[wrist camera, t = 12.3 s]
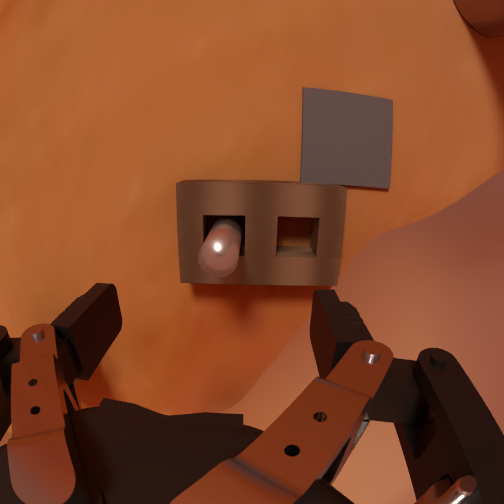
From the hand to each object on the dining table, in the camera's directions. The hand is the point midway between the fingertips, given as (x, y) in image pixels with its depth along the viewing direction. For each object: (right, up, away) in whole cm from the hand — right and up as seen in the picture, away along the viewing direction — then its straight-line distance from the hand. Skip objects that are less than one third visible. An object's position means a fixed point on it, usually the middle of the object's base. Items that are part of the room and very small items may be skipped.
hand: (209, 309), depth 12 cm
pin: (-1, +5, +21) cm, 21 cm away
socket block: (+2, +5, +21) cm, 21 cm away
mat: (+12, +14, +17) cm, 25 cm away
